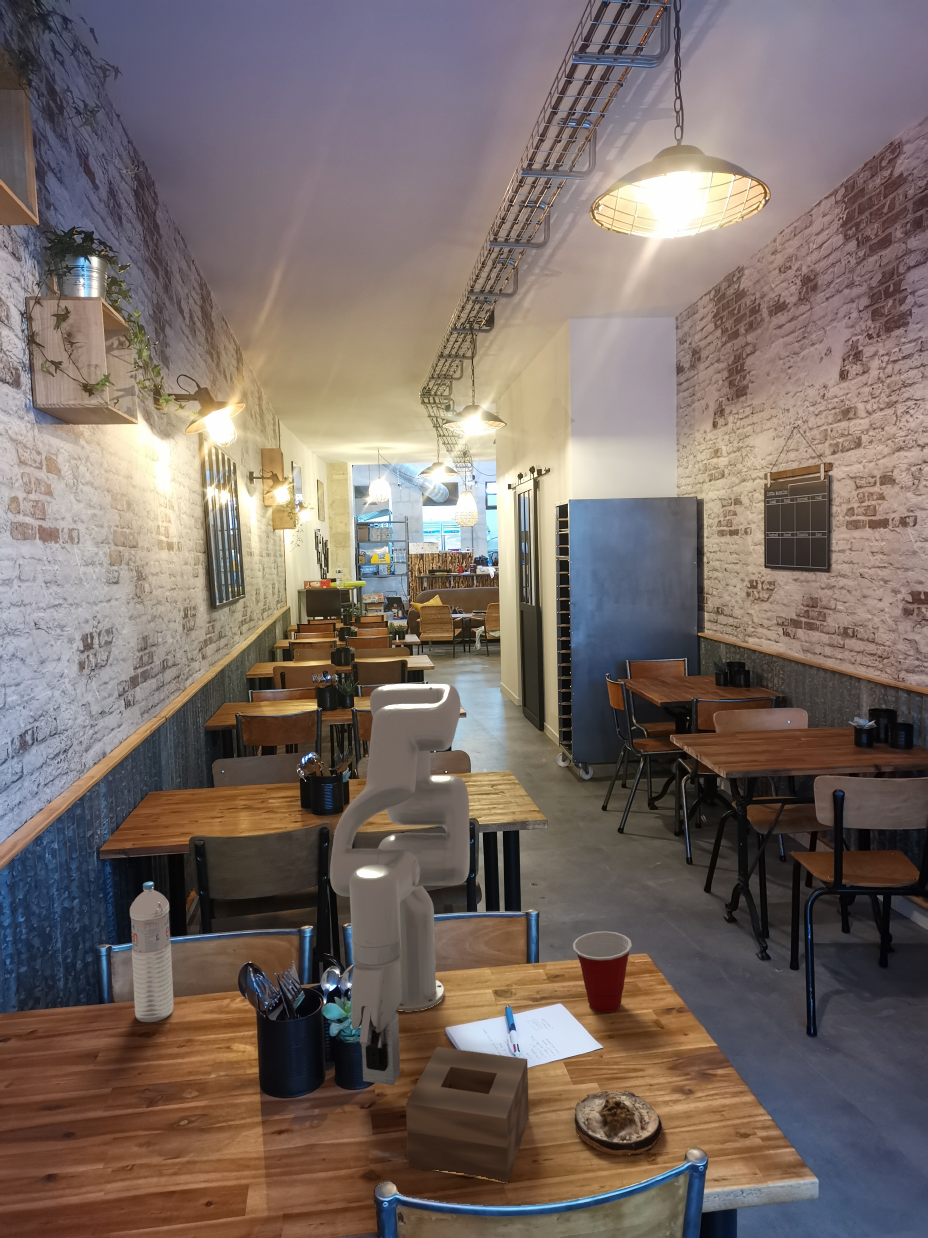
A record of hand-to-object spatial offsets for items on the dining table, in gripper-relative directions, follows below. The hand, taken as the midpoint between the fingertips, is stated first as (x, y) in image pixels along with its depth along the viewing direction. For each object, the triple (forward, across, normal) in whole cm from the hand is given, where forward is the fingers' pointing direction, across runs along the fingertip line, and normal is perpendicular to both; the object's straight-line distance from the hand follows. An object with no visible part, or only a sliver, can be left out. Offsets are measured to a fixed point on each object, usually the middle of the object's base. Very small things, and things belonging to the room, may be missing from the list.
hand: (381, 1060), depth 131 cm
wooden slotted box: (+5, +7, +16) cm, 18 cm away
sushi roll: (+6, -1, +36) cm, 37 cm away
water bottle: (+7, -13, -51) cm, 53 cm away
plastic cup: (+7, -35, +30) cm, 47 cm away
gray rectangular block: (+3, 0, 0) cm, 3 cm away
